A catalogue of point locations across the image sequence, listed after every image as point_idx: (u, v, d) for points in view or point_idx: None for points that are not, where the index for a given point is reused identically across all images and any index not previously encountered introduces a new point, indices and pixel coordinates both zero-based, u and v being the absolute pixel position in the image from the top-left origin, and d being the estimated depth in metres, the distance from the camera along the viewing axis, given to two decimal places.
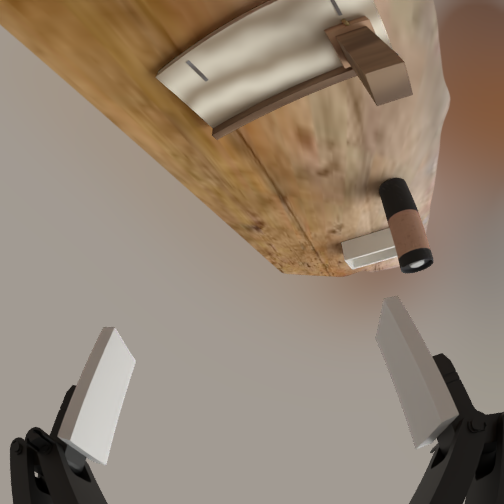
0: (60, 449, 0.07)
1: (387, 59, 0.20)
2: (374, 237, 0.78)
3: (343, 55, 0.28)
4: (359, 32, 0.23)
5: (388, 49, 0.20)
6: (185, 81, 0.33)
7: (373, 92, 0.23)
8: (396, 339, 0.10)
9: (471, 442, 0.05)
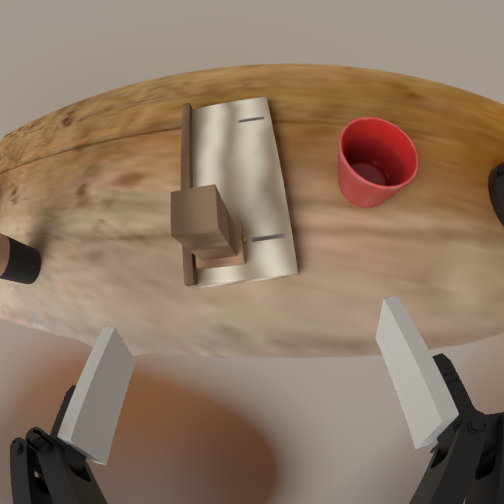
0: (60, 449, 0.07)
1: (220, 219, 0.26)
2: None
3: None
4: (233, 241, 0.34)
5: (224, 235, 0.28)
6: (247, 109, 0.42)
7: (189, 189, 0.26)
8: (396, 338, 0.10)
9: (471, 442, 0.05)
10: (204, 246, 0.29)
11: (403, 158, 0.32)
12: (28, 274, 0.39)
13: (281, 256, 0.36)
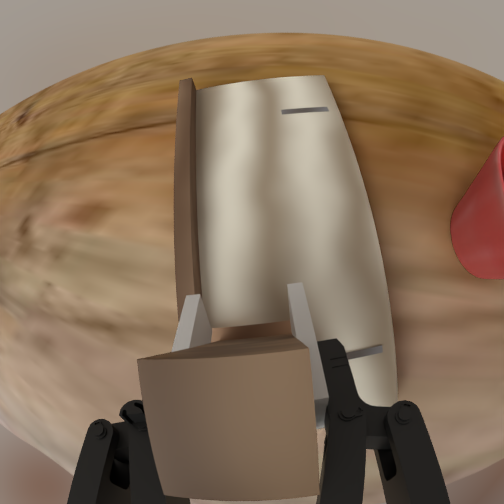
0: None
1: None
2: None
3: (238, 336, 0.17)
4: None
5: None
6: (296, 93, 0.23)
7: (206, 363, 0.06)
8: (292, 321, 0.12)
9: (348, 431, 0.07)
10: None
11: None
12: None
13: (374, 387, 0.16)
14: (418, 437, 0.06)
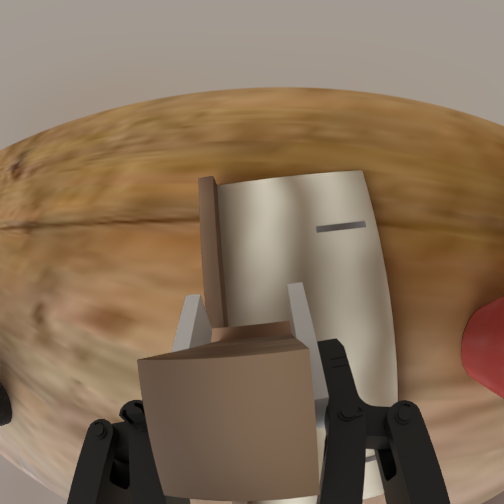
0: None
1: None
2: None
3: (238, 336, 0.17)
4: None
5: None
6: (331, 199, 0.22)
7: (206, 364, 0.06)
8: (292, 321, 0.12)
9: (348, 431, 0.07)
10: None
11: None
12: None
13: (376, 478, 0.16)
14: (418, 437, 0.06)
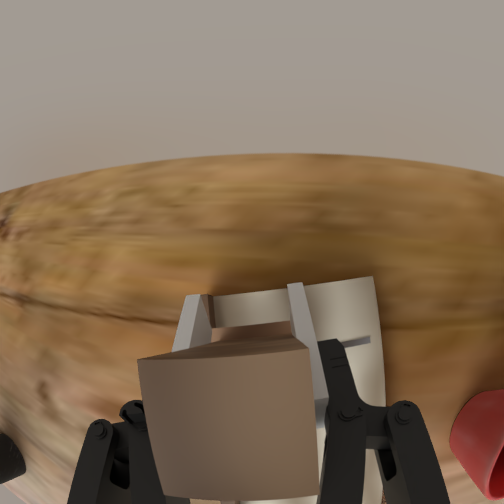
0: None
1: None
2: None
3: (238, 336, 0.17)
4: None
5: None
6: (337, 314, 0.21)
7: (206, 363, 0.06)
8: (292, 321, 0.12)
9: (348, 431, 0.07)
10: None
11: None
12: (15, 476, 0.17)
13: None
14: (418, 437, 0.06)
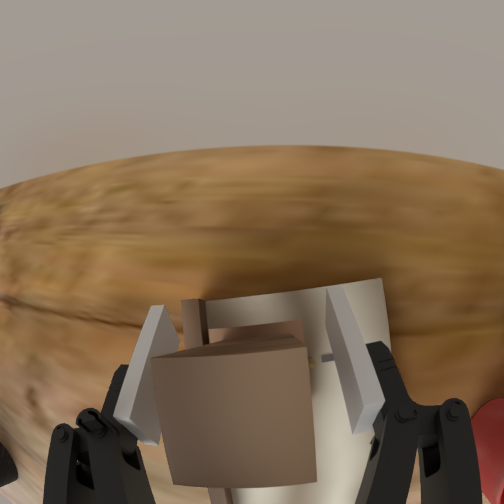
0: (115, 434, 0.08)
1: None
2: None
3: (240, 336, 0.17)
4: None
5: None
6: None
7: (214, 360, 0.07)
8: (335, 324, 0.12)
9: (403, 432, 0.06)
10: None
11: None
12: (7, 483, 0.15)
13: None
14: (464, 435, 0.05)
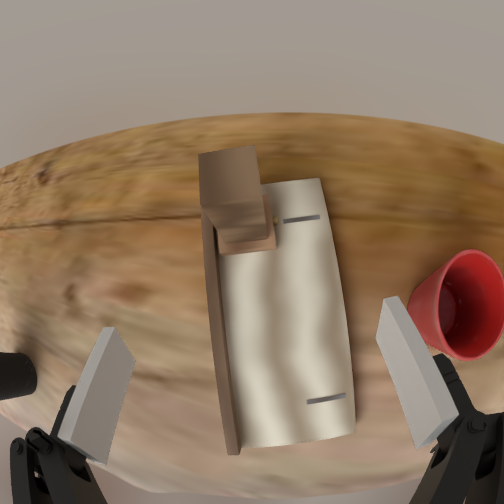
0: (60, 449, 0.07)
1: None
2: None
3: None
4: None
5: None
6: (295, 199, 0.32)
7: (222, 151, 0.21)
8: (396, 339, 0.10)
9: (471, 442, 0.05)
10: (235, 222, 0.24)
11: (488, 296, 0.22)
12: (25, 391, 0.28)
13: (339, 418, 0.25)
14: None
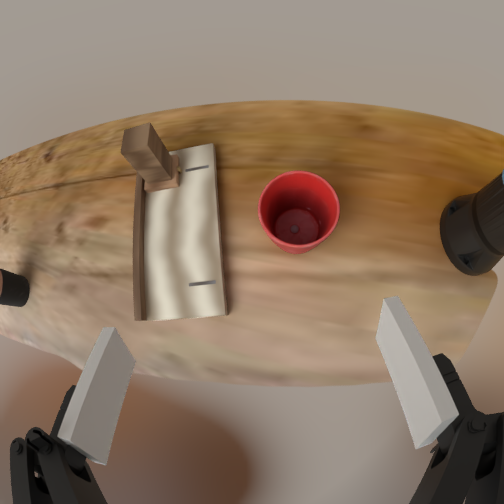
0: (60, 449, 0.07)
1: (151, 142, 0.37)
2: None
3: None
4: (169, 168, 0.45)
5: (155, 154, 0.38)
6: (195, 157, 0.48)
7: (135, 127, 0.37)
8: (396, 339, 0.10)
9: (471, 442, 0.05)
10: (144, 165, 0.40)
11: (329, 209, 0.38)
12: (19, 299, 0.44)
13: (212, 300, 0.41)
14: None
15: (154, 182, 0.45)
